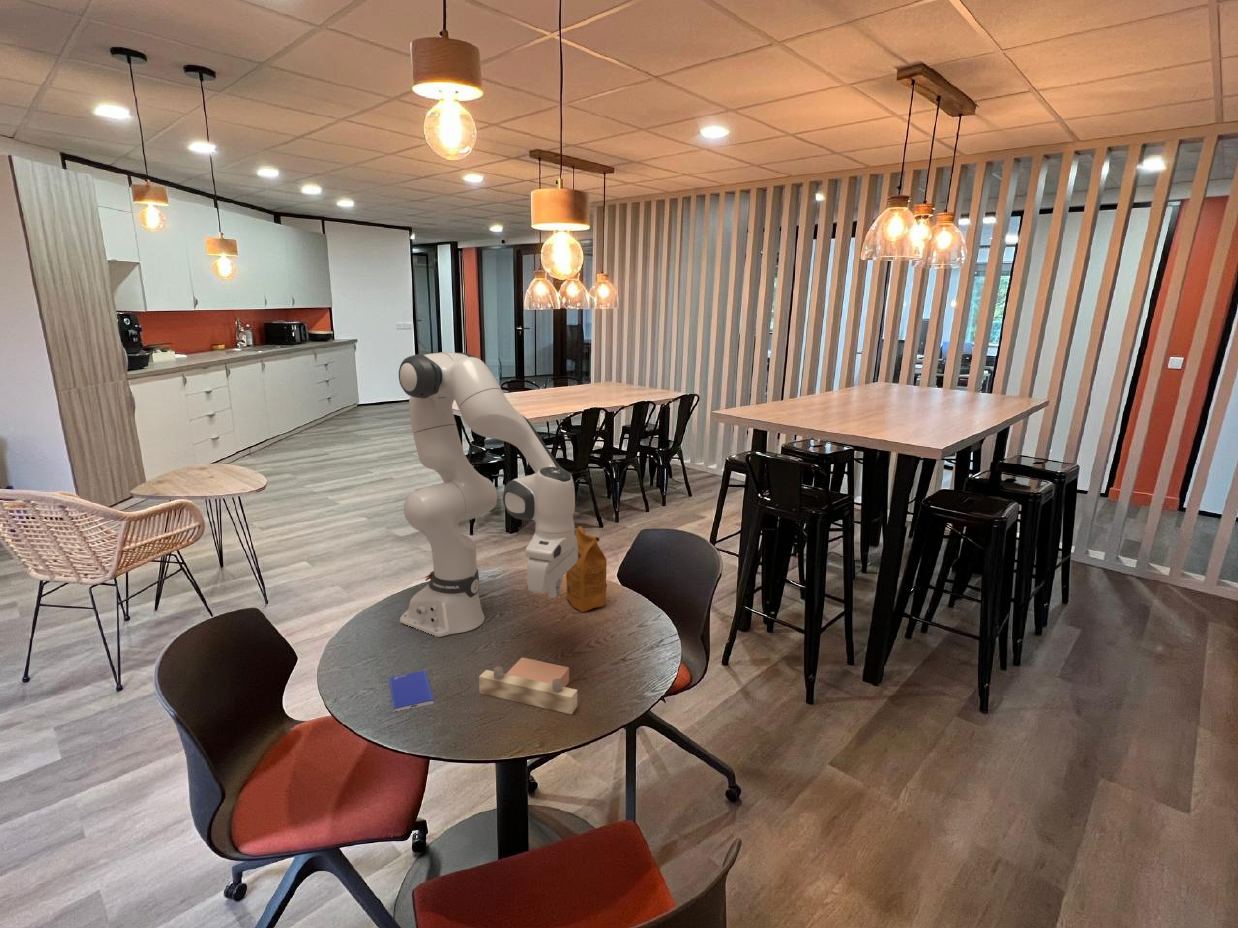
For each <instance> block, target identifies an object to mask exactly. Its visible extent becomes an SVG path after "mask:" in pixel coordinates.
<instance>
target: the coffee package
mask: <svg viewBox="0 0 1238 928" xmlns="http://www.w3.org/2000/svg"><path fill="white" fill-rule="evenodd" d="M574 536H575V537H576V538H577V543H578V560H577V563H576V564H575V565H574V566H573V567H572V568H571V569H570V570H568V571H567V572H566V573H565V577H566V579H565V580H566V600H568V602H569V603H570V605H571V606H572V608H574V609H576V610H578V611H579V612H582V613H584V612H587V611H589V610H592V609H594V608H601V607H603V606H606V602H607V601H606V600H607V597H606V596H607V586H608V584H607V563H608V562H607V558H606V556H605V553H603V551H602V549H601V548H600V547H599V545H598V544H599V543H598V542H600V537H598V536H595V535H590V534H586V533H585V528H583V526H578V527H577V530H576V532H575V533H574Z"/></svg>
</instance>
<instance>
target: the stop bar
mask: <svg viewBox="0 0 1238 928" xmlns="http://www.w3.org/2000/svg"><path fill="white" fill-rule="evenodd" d="M478 684H479V685H478V687H479V688H478V689H479V690H478V691H479V694H482V695H486V696H490V697H496V698H500V699H503V700H508V701H512V702H517V703H520V704H525V705H530V706H532V707H533V706H535V707H538V708H542V709H546V710H549V711H550V710H552V711H554V712H559V713H563V714H568V715H573V713H574V712H575V711H576V709H577V708H578V689H575V688H570V687H567V686H566V687H562V680H561V679H554V680H553V681H552V684H549V683H544V682H540V681H535V680H531V679H526V678H521V677H517V676H512V675H508V674H507V673H504V667H503V666H501V665H497V666H495V667H494V668H493V670H489V669H485V670H484V671H483V672H482V673H481V674H480V675H479V676H478Z"/></svg>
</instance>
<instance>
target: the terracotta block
mask: <svg viewBox="0 0 1238 928" xmlns="http://www.w3.org/2000/svg"><path fill="white" fill-rule="evenodd" d="M506 674H508V675H512V676H517V677H521V678H526V679H531V680H535V681H540V682H544V683H549V684H552V681H553V680H554V679H561V680H562V687H567V685H568V684H569V683H570V667H568V666H565V665H559V664H554V663H549V662H545V661H541V660H537V659H532V658H526V657H521V658H520V659H518V660H517V662H516V663H515V664H514V665H513V666H512V667H511V668H510V669H509V670H508V671H507V672H506Z"/></svg>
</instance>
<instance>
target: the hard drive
mask: <svg viewBox="0 0 1238 928" xmlns="http://www.w3.org/2000/svg"><path fill="white" fill-rule="evenodd" d="M389 684H390V686H389V692H390V691H391V692H390V697H391V703H392V709H393V713H396V712H395V711H398V712H401V711H400V710H403V711H406V709H407V710H411V709H410V708H412V709H416V708H420V707H424V706H429V705H434V703H435V700H434V696H433V692H432V689H431V685H430V681H429V678H428V673H427V670H420V671H418V670H417V671H415V672H409V673H404V674H401V675H396V676H391V677H389V678H388V685H389ZM415 707H416V708H415ZM404 709H405V710H404Z"/></svg>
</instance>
